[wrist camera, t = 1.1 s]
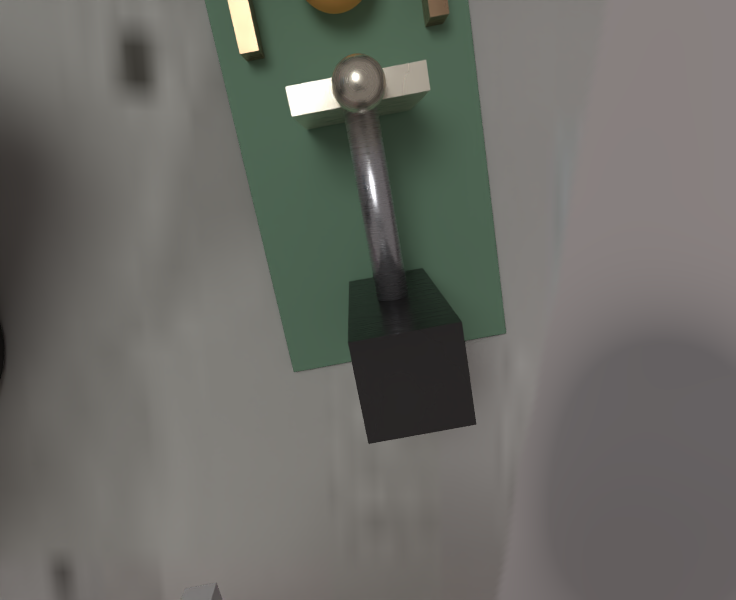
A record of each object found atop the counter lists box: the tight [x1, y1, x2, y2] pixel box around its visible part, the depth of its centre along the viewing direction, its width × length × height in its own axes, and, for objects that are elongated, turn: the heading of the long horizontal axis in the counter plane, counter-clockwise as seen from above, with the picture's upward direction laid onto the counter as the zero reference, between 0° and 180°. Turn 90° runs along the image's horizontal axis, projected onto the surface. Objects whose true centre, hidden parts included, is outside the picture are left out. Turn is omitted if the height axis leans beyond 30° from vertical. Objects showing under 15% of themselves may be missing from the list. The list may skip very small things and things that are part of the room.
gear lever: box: [286, 53, 476, 444], centre depth 24 cm, size 15×6×11 cm, turn 10°
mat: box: [205, 0, 506, 372], centre depth 27 cm, size 35×14×1 cm, turn 10°
